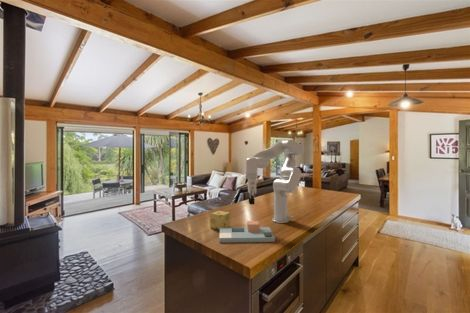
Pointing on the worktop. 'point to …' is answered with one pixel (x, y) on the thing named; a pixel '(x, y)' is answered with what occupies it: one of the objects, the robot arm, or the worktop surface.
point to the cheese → (220, 220)
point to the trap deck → (245, 235)
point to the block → (253, 226)
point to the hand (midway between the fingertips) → (251, 203)
